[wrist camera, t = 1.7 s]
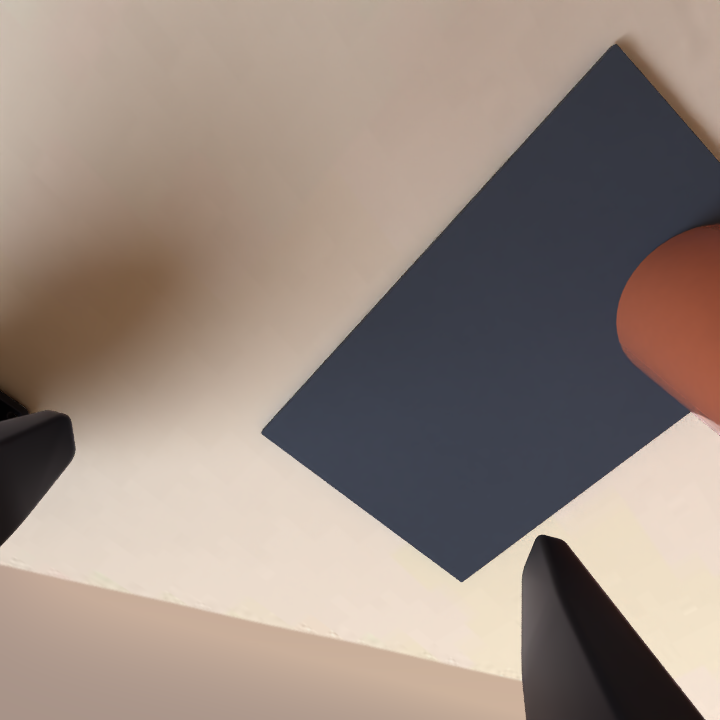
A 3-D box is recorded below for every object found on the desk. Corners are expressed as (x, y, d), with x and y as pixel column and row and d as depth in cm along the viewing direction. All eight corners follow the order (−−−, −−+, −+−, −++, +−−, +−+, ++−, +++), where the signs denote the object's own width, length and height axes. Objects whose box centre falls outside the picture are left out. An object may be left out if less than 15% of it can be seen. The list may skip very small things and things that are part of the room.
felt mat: (460, 576, 25) (461, 583, 25) (262, 429, 22) (260, 433, 22) (831, 298, 18) (840, 300, 18) (611, 45, 16) (616, 43, 16)
